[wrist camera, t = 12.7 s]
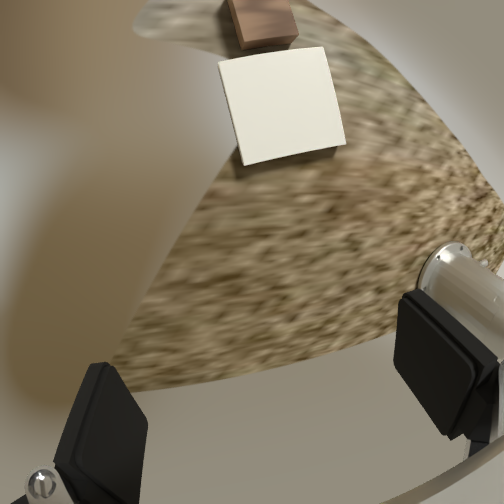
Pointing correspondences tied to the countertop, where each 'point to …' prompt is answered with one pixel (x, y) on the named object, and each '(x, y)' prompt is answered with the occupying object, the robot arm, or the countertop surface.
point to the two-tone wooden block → (263, 22)
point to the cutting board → (281, 103)
